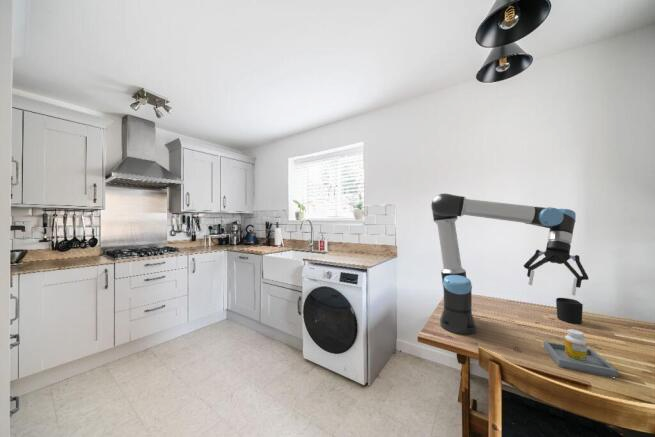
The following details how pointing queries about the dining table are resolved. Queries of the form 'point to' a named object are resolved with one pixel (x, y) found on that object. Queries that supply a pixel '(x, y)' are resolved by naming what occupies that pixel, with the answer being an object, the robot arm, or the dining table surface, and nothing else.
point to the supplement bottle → (576, 346)
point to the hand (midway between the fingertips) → (550, 289)
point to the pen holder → (569, 310)
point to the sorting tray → (592, 365)
